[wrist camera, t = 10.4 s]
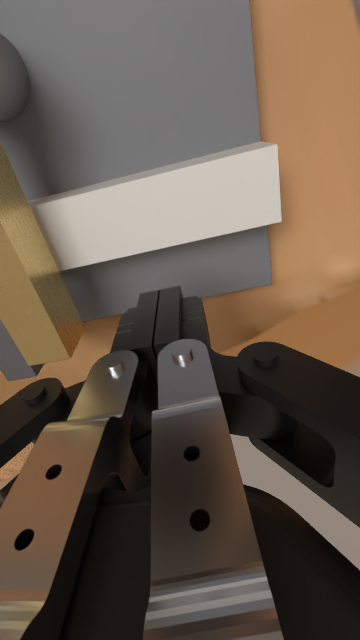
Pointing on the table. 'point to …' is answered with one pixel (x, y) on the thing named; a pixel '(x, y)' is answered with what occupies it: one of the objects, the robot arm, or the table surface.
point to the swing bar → (32, 281)
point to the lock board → (137, 148)
